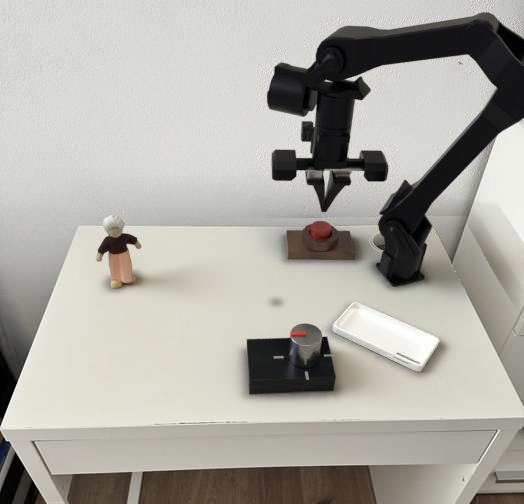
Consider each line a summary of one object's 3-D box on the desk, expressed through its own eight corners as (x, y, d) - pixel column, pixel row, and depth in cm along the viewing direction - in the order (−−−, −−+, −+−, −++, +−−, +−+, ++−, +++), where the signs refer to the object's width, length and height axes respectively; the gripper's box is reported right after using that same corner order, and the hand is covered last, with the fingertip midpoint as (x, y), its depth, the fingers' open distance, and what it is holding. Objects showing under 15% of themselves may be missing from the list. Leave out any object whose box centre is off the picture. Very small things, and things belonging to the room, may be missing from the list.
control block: (348, 238, 102) (351, 222, 100) (353, 260, 97) (356, 244, 95) (285, 237, 102) (286, 221, 99) (287, 259, 97) (288, 243, 95)
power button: (329, 228, 99) (330, 220, 98) (331, 240, 96) (332, 231, 95) (309, 228, 99) (310, 220, 97) (311, 240, 96) (312, 231, 95)
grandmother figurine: (111, 295, 89) (96, 230, 80) (100, 284, 91) (83, 219, 82) (150, 276, 93) (140, 212, 84) (138, 266, 95) (127, 202, 86)
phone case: (438, 344, 83) (353, 306, 89) (441, 338, 82) (354, 300, 88) (419, 373, 79) (330, 331, 84) (421, 367, 78) (331, 325, 83)
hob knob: (316, 345, 78) (320, 321, 75) (321, 367, 75) (324, 343, 72) (286, 346, 78) (288, 322, 74) (290, 368, 75) (292, 344, 71)
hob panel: (326, 348, 82) (329, 334, 80) (335, 392, 76) (338, 377, 74) (246, 351, 81) (246, 336, 79) (249, 395, 75) (249, 381, 73)
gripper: (384, 101, 88) (369, 187, 100) (271, 100, 88) (269, 187, 99) (397, 131, 81) (379, 221, 92) (273, 130, 80) (270, 220, 92)
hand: (323, 210), depth 94 cm, fingers closed
